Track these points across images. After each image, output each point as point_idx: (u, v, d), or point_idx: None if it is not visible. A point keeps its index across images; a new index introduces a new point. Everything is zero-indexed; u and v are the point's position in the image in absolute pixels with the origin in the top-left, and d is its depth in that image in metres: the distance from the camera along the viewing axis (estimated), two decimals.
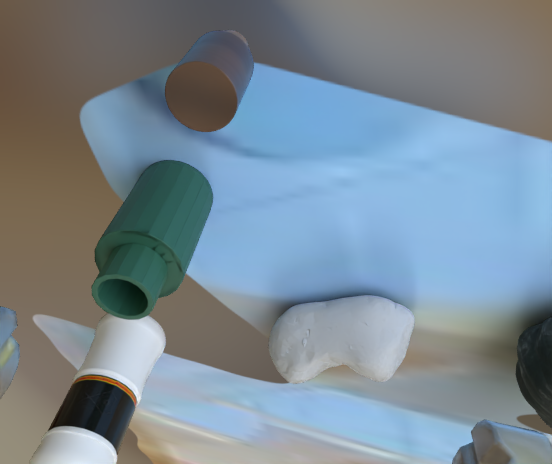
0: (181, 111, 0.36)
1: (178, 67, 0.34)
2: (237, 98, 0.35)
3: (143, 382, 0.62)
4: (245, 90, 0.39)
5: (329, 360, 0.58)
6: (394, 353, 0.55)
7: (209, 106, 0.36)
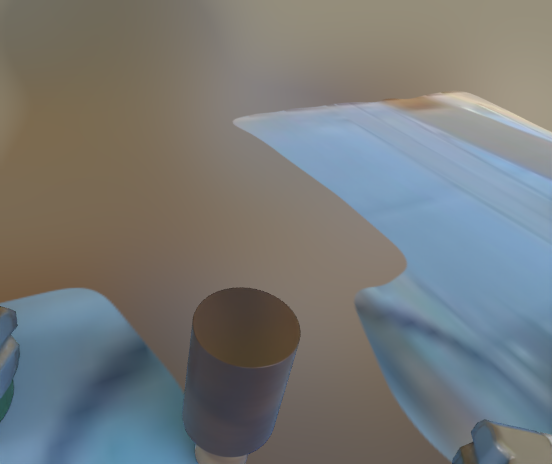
0: (218, 304, 0.25)
1: (278, 299, 0.26)
2: (264, 368, 0.22)
3: None
4: (229, 423, 0.25)
5: None
6: None
7: (238, 333, 0.24)
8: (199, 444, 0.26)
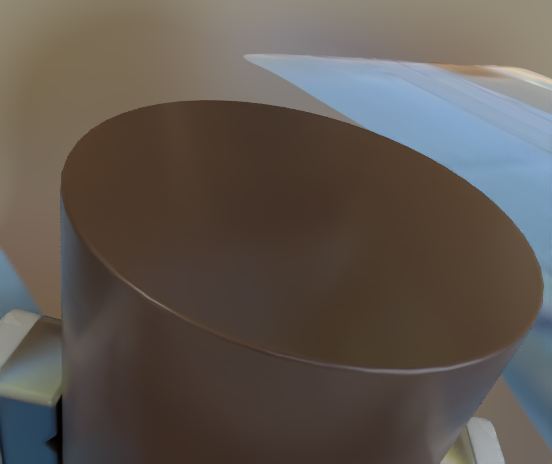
0: (193, 124, 0.06)
1: (407, 148, 0.08)
2: (431, 381, 0.04)
3: None
4: None
5: None
6: None
7: (276, 213, 0.05)
8: None
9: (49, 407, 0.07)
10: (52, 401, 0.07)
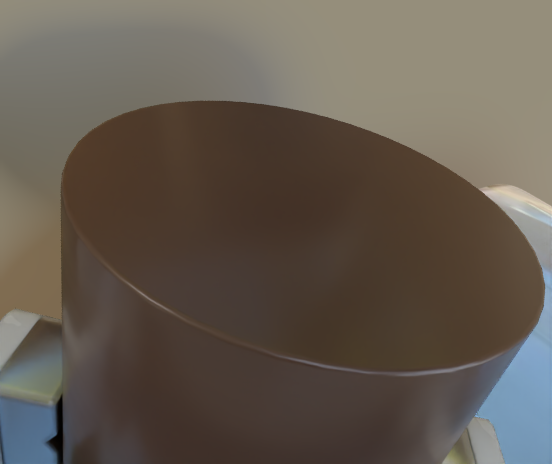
0: (194, 125, 0.06)
1: (407, 149, 0.08)
2: (433, 382, 0.04)
3: None
4: None
5: None
6: None
7: (276, 214, 0.05)
8: None
9: (49, 407, 0.07)
10: (52, 401, 0.07)
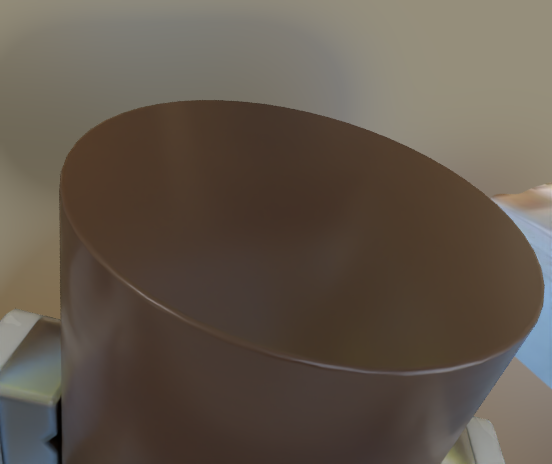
0: (193, 124, 0.06)
1: (407, 148, 0.08)
2: (432, 382, 0.04)
3: None
4: None
5: None
6: None
7: (276, 214, 0.05)
8: None
9: (49, 407, 0.07)
10: (53, 401, 0.07)
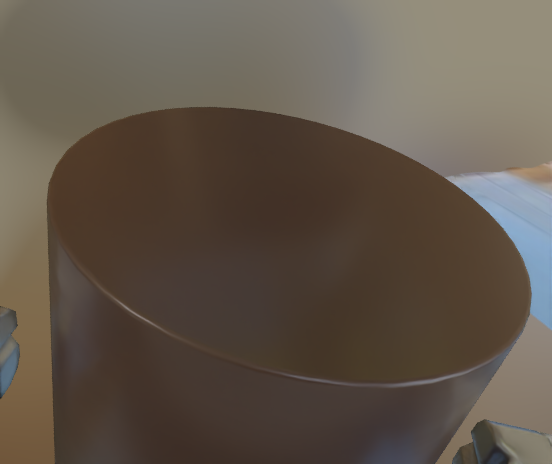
0: (183, 132, 0.06)
1: (398, 154, 0.08)
2: (415, 393, 0.04)
3: None
4: None
5: None
6: None
7: (263, 223, 0.05)
8: None
9: None
10: None
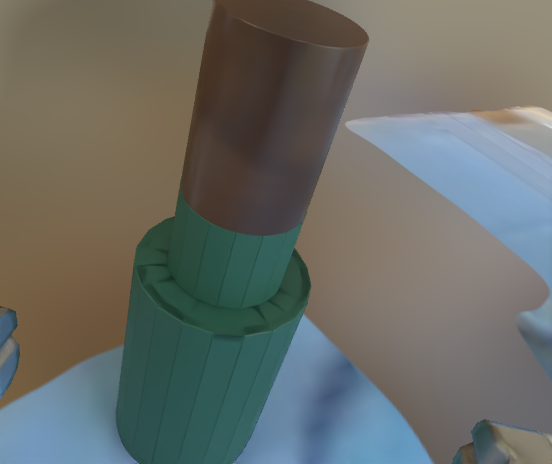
0: None
1: (333, 11, 0.18)
2: (322, 50, 0.15)
3: None
4: (254, 163, 0.17)
5: None
6: None
7: (280, 16, 0.16)
8: (204, 213, 0.19)
9: None
10: None
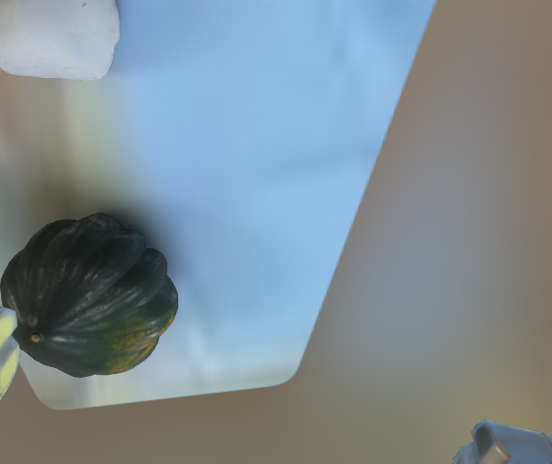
0: None
1: None
2: None
3: None
4: None
5: None
6: (51, 60, 0.34)
7: None
8: None
9: None
10: None
